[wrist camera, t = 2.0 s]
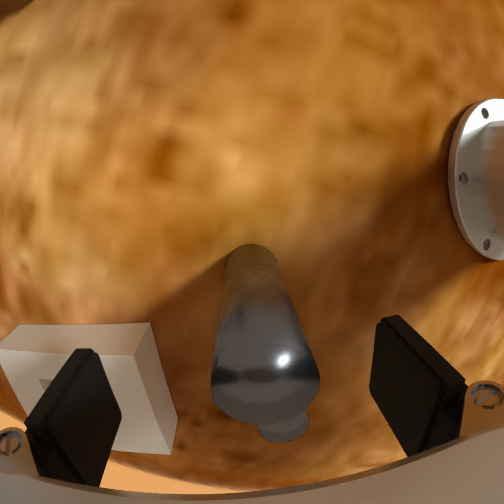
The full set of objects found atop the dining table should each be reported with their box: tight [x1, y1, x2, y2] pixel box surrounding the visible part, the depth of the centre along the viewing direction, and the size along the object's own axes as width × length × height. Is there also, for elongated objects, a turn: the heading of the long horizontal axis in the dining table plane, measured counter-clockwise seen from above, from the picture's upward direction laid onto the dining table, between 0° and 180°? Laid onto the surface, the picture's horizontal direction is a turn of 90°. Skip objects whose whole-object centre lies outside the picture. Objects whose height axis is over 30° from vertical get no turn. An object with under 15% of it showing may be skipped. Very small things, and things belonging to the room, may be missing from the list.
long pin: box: [211, 244, 320, 424], centre depth 14 cm, size 3×3×11 cm
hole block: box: [0, 322, 178, 454], centre depth 19 cm, size 12×9×4 cm
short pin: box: [258, 409, 309, 442], centre depth 19 cm, size 3×3×4 cm
